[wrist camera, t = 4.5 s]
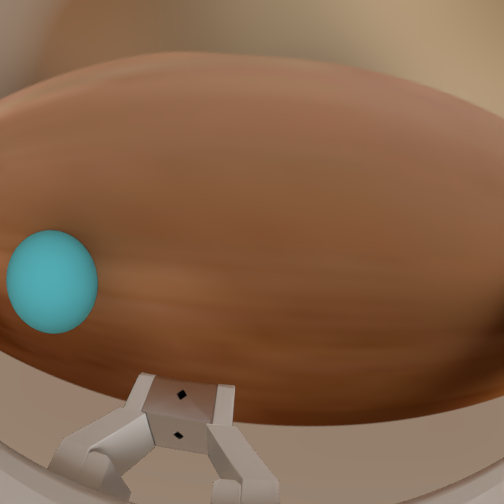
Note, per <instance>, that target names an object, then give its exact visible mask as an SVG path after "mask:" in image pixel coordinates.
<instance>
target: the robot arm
mask: <svg viewBox="0 0 504 504" xmlns="http://www.w3.org/2000/svg"><path fill="white" fill-rule="evenodd" d="M234 396H235V385H225V384H215V383H205V382H197V381H189V380H187V381H186V380H180V379H175V378H169V377H164V376H159V375H153V374H148V373H144V372H142V373H141V374H139V376H138V378H137V380H136V382H135V384H134V386H133V388H132V390H131V393H130V395H129V397H128V399H127V401H126V403H125V406H124V408H123V407H118V408H116V409H115V410H113V411H111V412H109V413H108V414H106V415H104V416H102V417H101V418H99V419H97V420H95V421H93V422H92V423H90V424H88V425H86V426H84V427H83V428H81V429H79V430H77V431H75V432H73V433H71V434H70V435H68V436H66V437H64V438H63V440H62V441H61V443H60V445H59V447H58V449H57V451H56V453H55V455H54V457H53V458H52V461H51V462H50V464H49V466H48V468H47V469H46V468H44V467H42V466H41V465H39V464H37V463H35V462H33V461H32V460H30V459H28V458H26V457H25V456H23V455H21V454H20V453H18V452H16V451H15V450H13V449H12V448H10V447H8V446H7V445H5V444H4V443H2V442H1V441H0V504H135V503H132V502H128V501H129V498H130V494H131V491H130V490H129V488H128V487H127V486H126V484H125V483H124V481H123V480H122V478H121V477H120V476H122V475H123V474H124V473H125V472H127V471H128V470H129V469H130V468H131V467H132V466H134V465H135V464H136V463H137V462H139V461H140V460H141V459H142V458H143V457H145V456H146V455H147V454H148V453H149V452H150V451H151V450H153V449H154V448H155V446H160V447H165V448H172V449H177V450H184V451H189V452H195V453H201V454H208V457H209V458H210V460H211V462H212V464H213V466H214V468H215V469H216V471H217V473H218V474H219V476H220V478H221V479H218V480H216V481H215V482H214V483H213V489H212V497H211V504H280V498H279V481H278V479H277V478H276V477H275V476H274V474H273V473H272V472H271V471H270V469H269V468H268V467H267V466H266V465H265V463H264V462H263V461H262V459H261V458H260V457H259V456H258V454H257V453H256V452H255V450H254V449H253V448H252V446H251V445H250V444H249V442H248V441H247V440H246V438H245V437H244V436H243V434H242V433H241V432H240V430H239V429H238V427H237V426H232V423H233V410H234ZM396 504H504V458H502V459H501V460H499V461H497V462H495V463H493V464H491V465H490V466H488V467H486V468H484V469H482V470H480V471H478V472H476V473H474V474H472V475H470V476H468V477H466V478H464V479H462V480H460V481H457V482H455V483H453V484H450V485H448V486H446V487H443V488H441V489H438V490H436V491H433V492H430V493H428V494H425V495H422V496H419V497H416V498H413V499H410V500H407V501H403V502H400V503H396Z"/></svg>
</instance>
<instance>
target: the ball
mask: <svg viewBox="0 0 504 504" xmlns="http://www.w3.org/2000/svg"><path fill="white" fill-rule="evenodd" d="M6 283H7V291H8V296H9V299H10V301H11V304H12V306H13V308H14V310H15V311H16V313H17V314H18V315H19V317H20V318H21V319H22V320H23V321H24V322H25V323H26V324H28V325H29V326H30V327H32V328H34V329H36V330H38V331H41V332H45V333H51V334H57V333H64V332H67V331H69V330H72V329H73V328H75V327H77V326H78V325H79V324H81V323H82V322H83V321H84V320H85V319H86V317H87V316H88V315H89V313H90V312H91V310H92V308H93V306H94V303H95V300H96V296H97V290H98V278H97V272H96V268H95V264H94V262H93V259H92V257H91V255H90V254H89V252H88V251H87V249H86V248H85V247H84V246H83V245H82V243H80V242H79V241H78V240H77V239H75V238H74V237H73V236H71V235H69V234H67V233H64V232H61V231H56V230H46V231H40V232H37V233H34V234H32V235H30V236H29V237H27V238H26V239H25V240H23V241H22V242H21V243H20V244H19V246H18V247H17V248H16V249H15V251H14V253H13V255H12V257H11V259H10V262H9V265H8V269H7V277H6Z"/></svg>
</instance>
